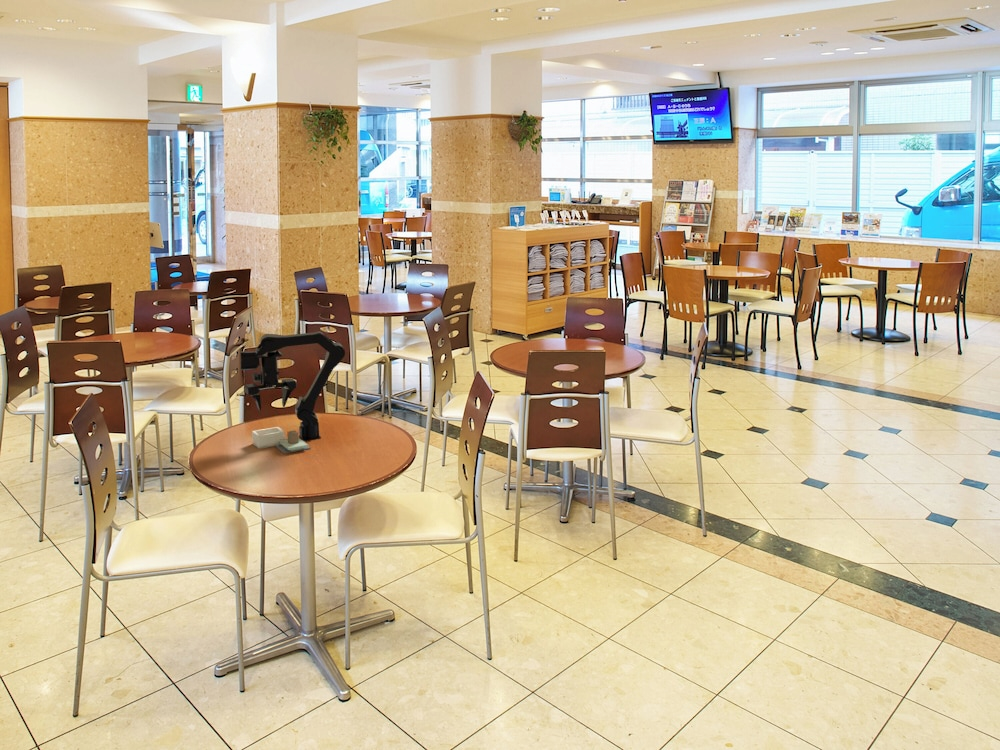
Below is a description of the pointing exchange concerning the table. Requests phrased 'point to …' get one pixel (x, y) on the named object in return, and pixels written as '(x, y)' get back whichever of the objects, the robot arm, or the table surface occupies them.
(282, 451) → the mat
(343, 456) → the table surface
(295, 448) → the lid
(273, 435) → the caddy
